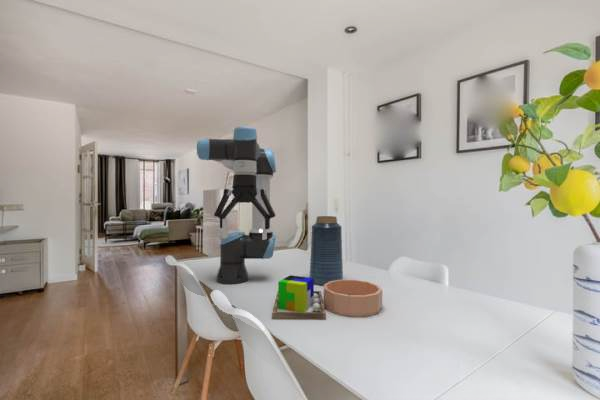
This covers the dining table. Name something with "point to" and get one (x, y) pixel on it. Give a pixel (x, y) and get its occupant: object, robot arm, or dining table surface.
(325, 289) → the bowl
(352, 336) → the dining table surface
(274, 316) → the tray
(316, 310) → the pebble
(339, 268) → the blue thread spool
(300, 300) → the puzzle toy
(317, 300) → the pebble
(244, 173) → the robot arm
